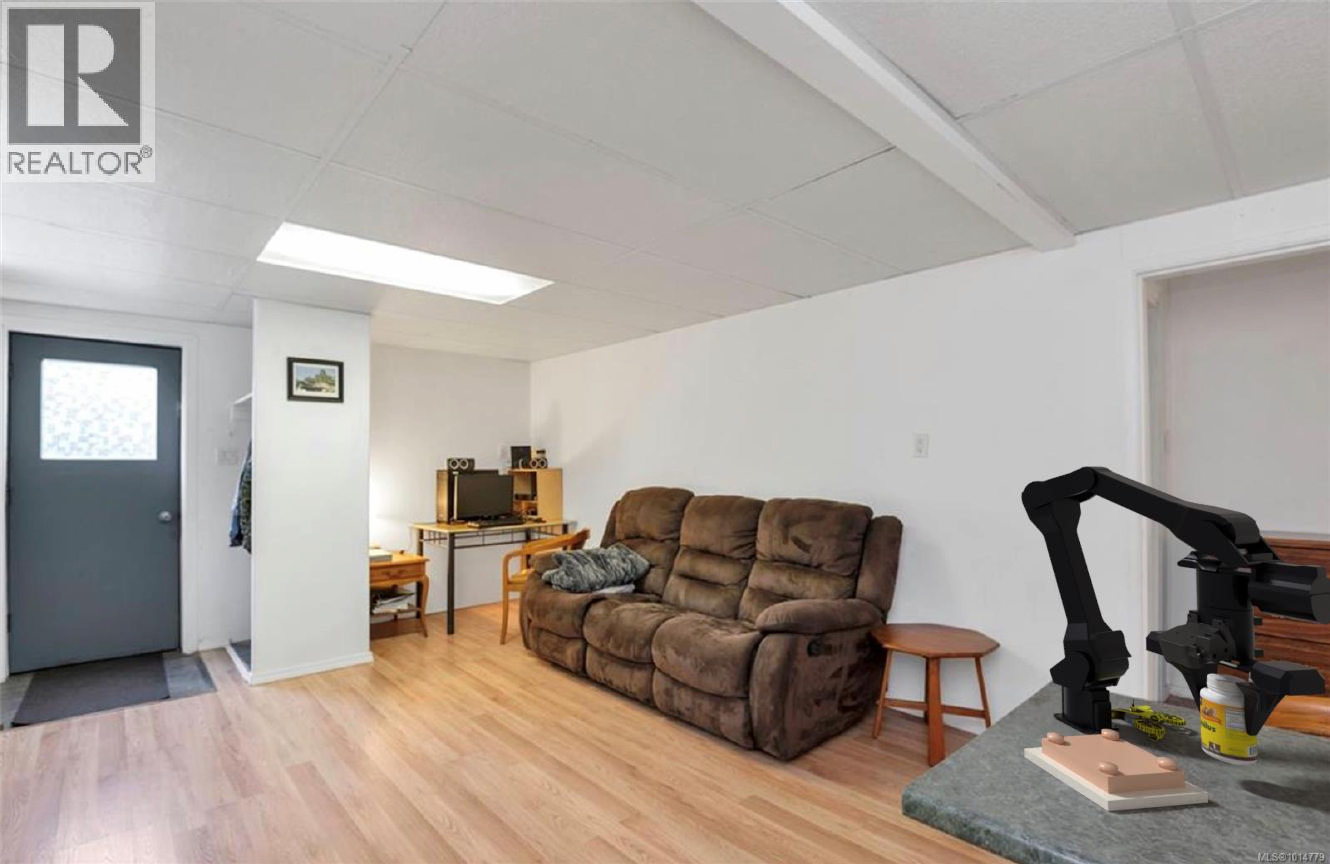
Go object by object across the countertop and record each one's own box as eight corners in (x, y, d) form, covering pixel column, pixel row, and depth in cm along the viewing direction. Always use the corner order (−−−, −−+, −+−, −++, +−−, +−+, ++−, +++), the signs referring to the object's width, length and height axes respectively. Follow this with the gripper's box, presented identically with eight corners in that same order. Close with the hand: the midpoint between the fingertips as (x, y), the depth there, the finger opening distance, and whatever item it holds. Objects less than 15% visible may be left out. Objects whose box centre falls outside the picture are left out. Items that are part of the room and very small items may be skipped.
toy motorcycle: (1160, 721, 93) (1106, 702, 99) (1158, 747, 93) (1104, 727, 99) (1190, 709, 100) (1138, 692, 106) (1188, 734, 100) (1136, 716, 105)
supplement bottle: (1195, 744, 87) (1193, 668, 88) (1247, 752, 85) (1244, 674, 85) (1210, 761, 82) (1207, 681, 82) (1265, 770, 80) (1263, 688, 80)
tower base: (1024, 756, 90) (1024, 728, 90) (1111, 750, 92) (1110, 722, 92) (1108, 810, 76) (1107, 776, 76) (1207, 802, 78) (1206, 769, 78)
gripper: (1111, 592, 92) (1113, 701, 92) (1247, 626, 74) (1252, 762, 73) (1177, 591, 94) (1180, 698, 93) (1326, 623, 76) (1331, 756, 75)
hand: (1227, 725), depth 84 cm, fingers closed on supplement bottle, 6 cm apart
